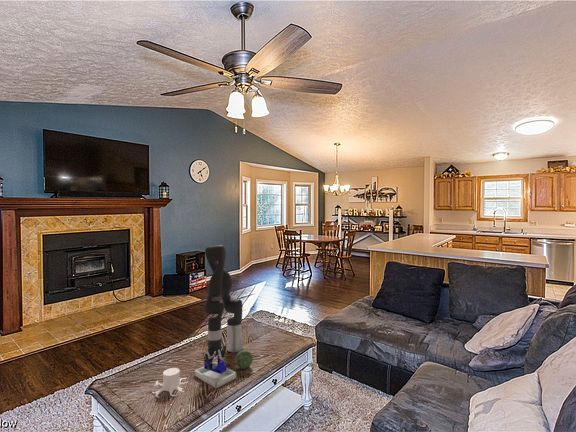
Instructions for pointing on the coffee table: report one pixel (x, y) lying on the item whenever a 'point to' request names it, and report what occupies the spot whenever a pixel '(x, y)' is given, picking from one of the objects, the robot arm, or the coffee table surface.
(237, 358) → the decorative artifact
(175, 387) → the tree stump
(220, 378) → the parts tray
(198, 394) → the coffee table surface
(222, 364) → the blue curved bracket
